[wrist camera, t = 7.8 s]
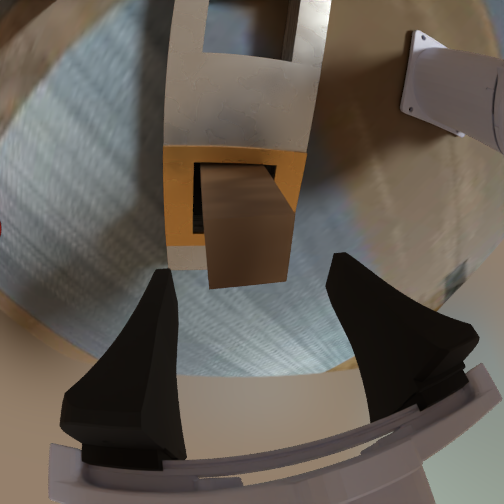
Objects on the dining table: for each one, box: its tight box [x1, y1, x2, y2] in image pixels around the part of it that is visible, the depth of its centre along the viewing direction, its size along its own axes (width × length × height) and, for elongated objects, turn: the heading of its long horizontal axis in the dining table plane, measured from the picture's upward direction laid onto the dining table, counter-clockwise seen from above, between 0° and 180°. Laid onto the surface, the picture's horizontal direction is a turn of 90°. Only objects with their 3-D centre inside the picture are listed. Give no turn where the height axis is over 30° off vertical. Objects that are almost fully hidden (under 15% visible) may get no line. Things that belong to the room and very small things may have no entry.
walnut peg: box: [200, 162, 295, 289], centre depth 17 cm, size 4×4×9 cm
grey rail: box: [163, 0, 331, 270], centre depth 16 cm, size 9×24×3 cm, turn 174°
